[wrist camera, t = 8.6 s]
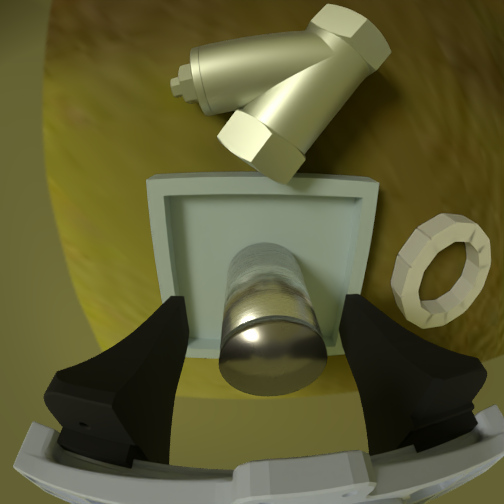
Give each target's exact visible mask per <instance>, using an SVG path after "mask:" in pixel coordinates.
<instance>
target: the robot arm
mask: <svg viewBox="0 0 504 504" xmlns="http://www.w3.org/2000/svg"><path fill="white" fill-rule="evenodd" d="M189 332H190V331H189V325H188V319H187V312H186V305H185V298H184V296H170V297H169V298H168V299H167V300H166V301H165V302H164V303H163V304H162V305H161V306H160V307H159V308H158V309H157V310H156V311H155V312H154V313H153V314H152V315H151V316H150V317H149V318H148V319H147V320H146V321H145V322H144V323H143V324H142V325H140V326H139V327H138V328H137V329H136V330H135V331H134V332H132V333H131V334H130V335H129V336H127V337H126V338H125V339H123V340H122V341H120V342H119V343H117V344H116V345H114V346H113V347H111V348H109V349H108V350H106V351H104V352H102V353H101V354H99V355H97V356H96V357H93V358H91V359H89V360H87V361H85V362H82V363H80V364H78V365H75V366H72V367H69V368H66V369H63V370H60V371H57V373H56V374H55V376H54V377H53V379H52V381H51V383H50V385H49V387H48V388H47V390H46V392H45V394H44V401H45V404H46V406H47V407H48V409H49V410H50V412H51V413H52V414H53V416H54V417H55V418H56V419H57V421H58V422H59V423H60V424H61V426H63V428H62V430H61V433H59V432H58V431H56V430H55V429H52V428H50V427H47V426H44V425H42V424H39V423H37V422H32V425H31V427H30V429H29V431H28V433H27V435H26V438H25V439H24V442H23V444H22V446H21V449H20V451H19V453H18V456H17V458H16V460H15V463H14V466H13V467H14V469H16V470H17V471H18V472H19V473H21V474H22V475H23V476H25V477H26V478H27V479H29V480H30V481H31V482H33V483H34V484H35V485H37V486H38V487H40V488H41V489H42V490H44V491H45V492H47V493H49V494H51V495H53V496H56V497H58V498H60V499H62V500H65V501H67V502H69V503H71V504H425V503H427V502H429V501H431V500H433V499H435V498H438V497H440V496H441V495H444V494H446V493H448V492H450V491H451V490H453V489H455V488H457V487H459V486H461V485H463V484H465V483H466V482H468V481H470V480H472V479H473V478H475V477H477V476H479V475H480V474H482V473H484V472H485V471H487V470H488V469H489V468H490V467H491V466H493V465H494V464H495V463H496V462H498V461H499V460H500V459H501V458H502V457H503V456H504V417H503V416H502V414H501V412H500V410H499V409H498V407H497V405H492V406H490V407H488V408H486V409H484V410H482V411H480V412H478V413H477V414H476V415H475V416H474V414H473V413H472V410H473V409H474V405H473V403H472V400H473V399H474V397H475V396H476V395H477V393H478V392H479V390H480V389H481V388H482V386H483V384H484V383H485V380H486V377H487V371H486V370H485V368H484V367H483V365H482V364H481V362H480V361H479V359H478V358H475V357H471V356H467V355H463V354H459V353H456V352H453V351H450V350H447V349H444V348H442V347H439V346H437V345H435V344H433V343H430V342H428V341H426V340H424V339H422V338H420V337H419V336H417V335H415V334H413V333H412V332H410V331H408V330H407V329H405V328H404V327H402V326H401V325H399V324H398V323H396V322H395V321H393V320H392V319H391V318H389V317H388V316H387V315H385V314H384V313H383V312H382V311H380V310H379V309H378V308H376V307H375V306H374V305H373V304H371V303H370V302H369V301H368V300H366V299H365V298H364V297H362V296H361V295H359V294H346V296H345V301H344V306H343V311H342V316H341V320H340V325H339V334H340V338H341V343H342V347H343V350H344V352H345V355H346V358H347V360H348V363H349V365H350V368H351V371H352V373H353V376H354V379H355V381H356V384H357V387H358V390H359V394H360V398H361V403H362V407H363V412H364V418H365V424H366V430H367V438H368V447H369V453H366V452H363V451H360V450H351V451H342V452H336V453H328V454H321V455H313V456H303V457H292V458H278V459H264V460H255V461H250V462H247V463H244V464H241V465H239V466H238V467H236V469H235V470H221V469H220V470H219V469H203V468H191V467H182V466H173V465H169V451H170V435H171V425H172V415H173V407H174V400H175V394H176V389H177V386H178V382H179V378H180V374H181V371H182V367H183V363H184V360H185V356H186V352H187V347H188V339H189Z"/></svg>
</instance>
